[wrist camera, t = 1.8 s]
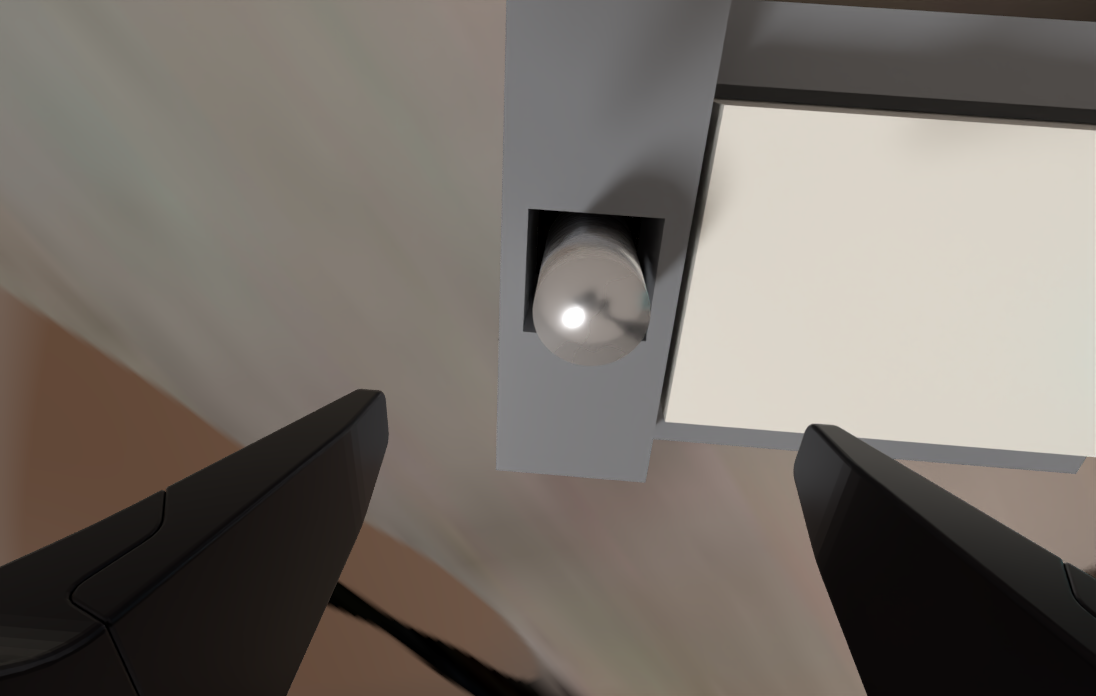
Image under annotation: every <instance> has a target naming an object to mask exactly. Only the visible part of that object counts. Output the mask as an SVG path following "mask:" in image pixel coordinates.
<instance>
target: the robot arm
mask: <svg viewBox="0 0 1096 696" xmlns="http://www.w3.org/2000/svg"><path fill="white" fill-rule="evenodd" d="M388 435H389V432H388V420H387V409H386V399H385V395H384V393H383V392H382V391H379V390H367V389H358V390H355V391H353V392H351V393H349V394H348V395H346V396H344V397H342V398H340V399H338V400H336V401H334V402H332V403H330V404H328V405H326V406H324V407H322V408H320V409H318V410H316V411H315V412H313V413H311V414H309V415H307V416H305V417H303V418H301V419H299V420H297V421H295V422H293V423H291V424H289V425H287V426H285V427H283V428H281V429H280V430H278V431H276V432H274V433H272V434H270V435H268V436H266V437H264V438H262V439H260V440H258V441H256V442H254V443H252V444H250V445H248V446H246V447H245V448H243V449H241V450H239V451H237V452H235V453H233V454H231V455H229V456H227V457H225V458H223V459H222V460H219V461H217V462H215V463H213V464H212V465H210V466H208V467H206V468H204V469H202V470H200V471H198V472H196V473H194V474H192V475H190V476H188V477H186V478H184V479H182V480H180V481H178V482H176V483H175V484H173V485H171V486H169V487H167V488H166V492H165V491H163V490H161V491H159V492H157V493H155V494H153V495H151V496H149V497H147V498H145V499H143V500H141V501H139V502H138V503H136V504H134V505H132V506H130V507H128V508H126V509H124V510H121V511H119V512H117V513H115V514H113V515H111V516H109V517H107V518H106V519H103V520H101V521H99V522H97V523H95V524H93V525H91V526H89V527H87V528H85V529H82V530H80V531H78V532H76V533H74V534H71V535H69V536H67V537H65V538H63V539H61V540H58V541H56V542H54V543H52V544H50V545H48V546H45V547H43V548H41V549H39V550H36V551H34V552H32V553H30V554H27V555H25V556H23V557H21V558H19V559H16V560H14V561H12V562H10V563H7V564H5V565H3V566H1V567H0V696H286V695H287V693H288V691H289V689H290V686H291V684H292V682H293V680H294V677H295V675H296V673H297V671H298V668H299V666H300V664H301V662H302V659H303V657H304V655H305V653H306V650H307V648H308V646H309V644H310V642H311V639H312V637H313V635H314V633H315V630H316V628H317V626H318V624H319V621H320V619H321V617H322V615H323V612H324V610H325V608H326V606H327V604H328V601H329V599H330V597H331V595H332V592H333V590H334V588H335V586H336V583H337V581H338V579H339V577H340V574H341V572H342V570H343V568H344V565H345V563H346V561H347V559H348V557H349V554H350V552H351V550H352V548H353V545H354V543H355V541H356V539H357V536H358V534H359V532H360V529H361V527H362V524H363V521H364V518H365V515H366V512H367V509H368V506H369V503H370V500H371V496H372V493H373V490H374V487H375V483H376V480H377V477H378V474H379V470H380V467H381V464H382V461H383V458H384V454H385V451H386V448H387V444H388ZM794 480H795V483H796V487H797V491H798V495H799V499H800V503H801V507H802V511H803V514H804V518H805V522H806V526H807V530H808V534H809V538H810V542H811V545H812V549H813V553H814V556H815V559H816V562H817V565H818V568H819V571H820V574H821V576H822V579H823V582H824V584H825V587H826V589H827V592H828V595H829V597H830V600H831V602H832V605H833V608H834V610H835V613H836V615H837V618H838V621H839V623H840V626H841V628H842V631H843V634H844V636H845V639H846V641H847V644H848V647H849V649H850V652H851V654H852V657H853V660H854V662H855V665H856V667H857V670H858V673H859V675H860V678H861V680H862V683H863V685H864V688H865V691H866V693H867V696H1096V579H1095V578H1093V577H1092V576H1090V575H1088V574H1087V573H1085V572H1083V571H1082V570H1080V569H1078V568H1076V567H1075V566H1073V565H1071V564H1070V563H1063V561H1062V559H1061V558H1059V557H1058V556H1056V555H1054V554H1053V553H1051V552H1049V551H1048V550H1046V549H1044V548H1042V547H1041V546H1039V545H1037V544H1036V543H1034V542H1032V541H1031V540H1029V539H1027V538H1026V537H1024V536H1022V535H1021V534H1019V533H1017V532H1015V531H1014V530H1012V529H1010V528H1009V527H1007V526H1005V525H1004V524H1002V523H1000V522H999V521H997V520H995V519H994V518H992V517H990V516H989V515H987V514H985V513H983V512H982V511H980V510H978V509H977V508H975V507H973V506H972V505H970V504H968V503H967V502H965V501H963V500H962V499H960V498H958V497H956V496H955V495H953V494H951V493H950V492H948V491H946V490H945V489H943V488H941V487H940V486H938V485H936V484H935V483H933V482H931V481H930V480H928V479H926V478H924V477H923V476H921V475H919V474H918V473H916V472H914V471H913V470H911V469H909V468H908V467H906V466H904V465H903V464H901V463H899V462H897V461H896V460H894V459H892V458H891V457H889V456H887V455H886V454H884V453H882V452H881V451H879V450H877V449H876V448H874V447H872V446H871V445H869V444H867V443H865V442H864V441H862V440H860V439H859V438H857V437H855V436H854V435H852V434H850V433H849V432H847V431H845V430H844V429H842V428H840V427H838V426H836V425H829V424H811V425H809V426H808V427H807V428H806V430H805V432H804V435H803V438H802V441H801V444H800V447H799V450H798V454H797V457H796V460H795V463H794Z"/></svg>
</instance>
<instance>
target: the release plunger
mask: <svg viewBox="0 0 1096 696" xmlns="http://www.w3.org/2000/svg"><path fill="white" fill-rule="evenodd" d="M650 316H651V306H650V300H649V296H648V293H647V289H646V285H645V282H644V278H643V274H642V271H641V267H640V264H639V260H638V256H637V253H636V249H635V246H634V242H633V238H632V235H631V232H630V229H629V227H628V225H627V223H626V222H625V220H624V219H623V218H622V217H621V215H609V214H596V213H582V212H568V211H564V212H563V213H561V214H560V215H559V216H558V217H557V218H556V220H555V221H554V222H553V224H552V226H551V227H550V230H549V232H548V236H547V240H546V245H545V249H544V254H543V259H542V264H541V269H540V274H539V278H538V283H537V288H536V293H535V298H534V303H533V322H534V326H535V329H536V332H537V334H538V336H539V338H540V339H541V341H542V342H543V344H544V345H545V346H546V347H547V348H548V349H549V350H550V351H551V352H552V353H553V354H555V355H556V356H558V357H559V358H561V359H563V360H565V361H568V362H570V363H573V364H577V365H583V366H599V365H605V364H609V363H612V362H615V361H617V360H619V359H621V358H623V357H625V356H626V355H628V354H629V353H630V352H631V351H633V350H634V349H635V348H636V347H637V346H638V345H639V343H640V342H641V340H642V339H643V337H644V336H645V334H646V332H647V329H648V326H649V322H650Z"/></svg>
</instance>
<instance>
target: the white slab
mask: <svg viewBox="0 0 1096 696" xmlns="http://www.w3.org/2000/svg"><path fill="white" fill-rule="evenodd" d="M660 401H661V406H662V410H663V415H664V419H665V422H672V423H685V424H697V425H709V426H721V427H734V428H746V429H758V430H770V431H782V432H795V433H804V432H805V430H806V428H807V427H808V426H809V425H811V424H829V425H836V426H838V427H840V428H842V429H844V430H845V431H847V432H849V433H850V434H852V435H854V436H855V437H857V438H868V439H880V440H893V441H905V442H917V443H929V444H942V445H954V446H966V447H978V448H990V449H1003V450H1015V451H1027V452H1039V453H1052V454H1064V455H1076V456H1088V457H1096V124H1090V123H1076V122H1061V121H1046V120H1032V119H1017V118H1003V117H988V116H974V115H959V114H944V113H930V112H915V111H901V110H886V109H872V108H857V107H842V106H828V105H813V104H799V103H784V102H770V101H755V100H740V99H726V98H714V100H713V106H712V112H711V117H710V123H709V128H708V134H707V140H706V145H705V151H704V156H703V162H702V168H701V173H700V179H699V185H698V190H697V196H696V201H695V207H694V213H693V218H692V224H691V229H690V235H689V241H688V246H687V252H686V257H685V263H684V269H683V274H682V280H681V285H680V291H679V297H678V302H677V308H676V313H675V319H674V325H673V330H672V336H671V341H670V347H669V353H668V358H667V364H666V370H665V375H664V381H663V386H662V392H661V398H660Z"/></svg>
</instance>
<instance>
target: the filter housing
mask: <svg viewBox="0 0 1096 696" xmlns="http://www.w3.org/2000/svg"><path fill="white" fill-rule="evenodd" d="M714 98H726V99H740V100H755V101H770V102H784V103H799V104H813V105H828V106H842V107H857V108H872V109H886V110H901V111H915V112H930V113H944V114H959V115H974V116H988V117H1003V118H1017V119H1032V120H1046V121H1061V122H1076V123H1090V124H1096V22H1088V21H1072V20H1057V19H1041V18H1026V17H1010V16H995V15H979V14H964V13H949V12H933V11H918V10H902V9H887V8H871V7H856V6H840V5H825V4H809V3H794V2H778V1H763V0H507V1H506V46H505V90H504V135H503V179H502V224H501V268H500V313H499V357H498V402H497V446H496V470H502V471H514V472H526V473H538V474H550V475H562V476H573V477H585V478H597V479H609V480H621V481H633V482H646V476H647V470H648V465H649V459H650V454H651V448H652V442H653V439H659V440H671V441H683V442H695V443H708V444H720V445H732V446H744V447H756V448H768V449H780V450H792V451H798V450H799V447H800V444H801V441H802V438H803V435H804V433H795V432H782V431H770V430H758V429H746V428H734V427H721V426H709V425H697V424H685V423H672V422H665V419H664V415H663V410H662V406H661V401H660V398H661V392H662V386H663V381H664V375H665V370H666V364H667V358H668V353H669V347H670V341H671V336H672V330H673V325H674V319H675V313H676V308H677V302H678V297H679V291H680V285H681V280H682V274H683V269H684V263H685V257H686V252H687V246H688V241H689V235H690V229H691V224H692V218H693V213H694V207H695V201H696V196H697V190H698V185H699V179H700V173H701V168H702V162H703V156H704V151H705V145H706V140H707V134H708V128H709V123H710V117H711V112H712V106H713V100H714ZM539 209H541V210H555V211H568V212H582V213H596V214H609V215H623V216H636V217H641V225H640V232H639V239H638V246H637V256H638V260H639V264H640V267H641V271H642V274H643V278H644V282H645V285H646V289H647V293H648V296H649V300H650V306H651V316H650V322H649V326H648V329H647V332H646V334H645V336H644V337H643V339H642V340H641V342H640V343H639V345H638V346H637V347H636V348H635V349H634V350H633V351H631V352H630V353H629V354H628V355H626V356H625V357H623V358H621V359H619V360H617V361H615V362H612V363H609V364H605V365H599V366H583V365H577V364H573V363H570V362H568V361H565V360H563V359H561V358H559V357H558V356H556V355H555V354H553V353H552V352H551V351H550V350H549V349H548V348H547V347H546V346H545V345H544V344H543V342H542V341H541V339H540V338H539V336H538V334H537V332H536V329H535V326H534V322H533V303H534V298H535V293H536V288H537V283H538V278H539V274H536V261H537V242H538V223H539ZM859 439H860V440H862V441H864V442H865V443H867V444H869V445H871V446H872V447H874V448H876V449H877V450H879V451H881V452H882V453H884V454H886V455H887V456H889V457H891V458H892V459H902V460H914V461H926V462H938V463H950V464H962V465H974V466H986V467H999V468H1011V469H1023V470H1035V471H1047V472H1059V473H1071V474H1076V473H1077V472H1078V470H1079V468H1080V467H1081V465H1082V463H1083V462H1084V460H1085V459H1086V457H1087V456H1076V455H1064V454H1052V453H1039V452H1027V451H1015V450H1003V449H990V448H978V447H966V446H954V445H942V444H929V443H917V442H905V441H893V440H880V439H868V438H859Z"/></svg>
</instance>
